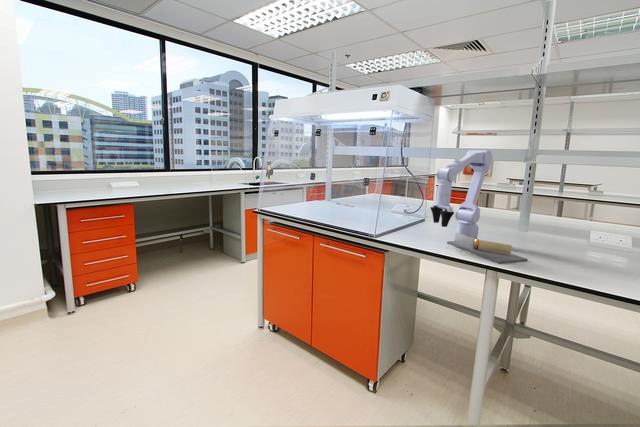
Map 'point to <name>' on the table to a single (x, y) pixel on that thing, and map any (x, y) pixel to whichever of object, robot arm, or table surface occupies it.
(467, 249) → the board
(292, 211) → the table surface
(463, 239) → the fixed leaf
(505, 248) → the swing leaf
